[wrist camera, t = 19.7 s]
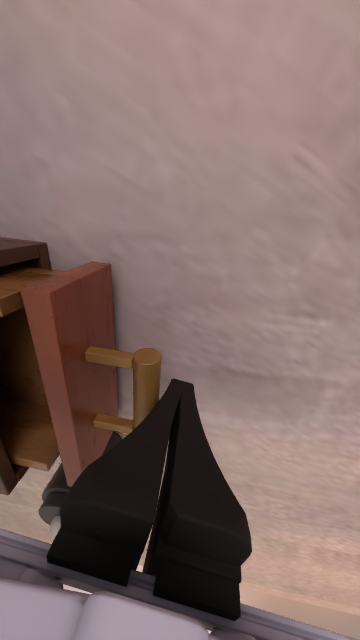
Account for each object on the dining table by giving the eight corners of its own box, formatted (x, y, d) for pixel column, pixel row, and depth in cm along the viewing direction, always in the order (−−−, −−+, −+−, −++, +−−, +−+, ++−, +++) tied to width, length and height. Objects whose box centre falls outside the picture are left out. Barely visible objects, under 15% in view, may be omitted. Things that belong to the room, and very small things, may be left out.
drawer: (177, 272, 12) (153, 307, 8) (164, 428, 18) (146, 504, 13) (-78, 240, 14) (-230, 253, 9) (-16, 393, 20) (-90, 450, 15)
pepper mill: (73, 437, 22) (15, 527, 16) (95, 417, 20) (39, 510, 14) (108, 460, 23) (66, 555, 16) (132, 443, 21) (96, 542, 15)
